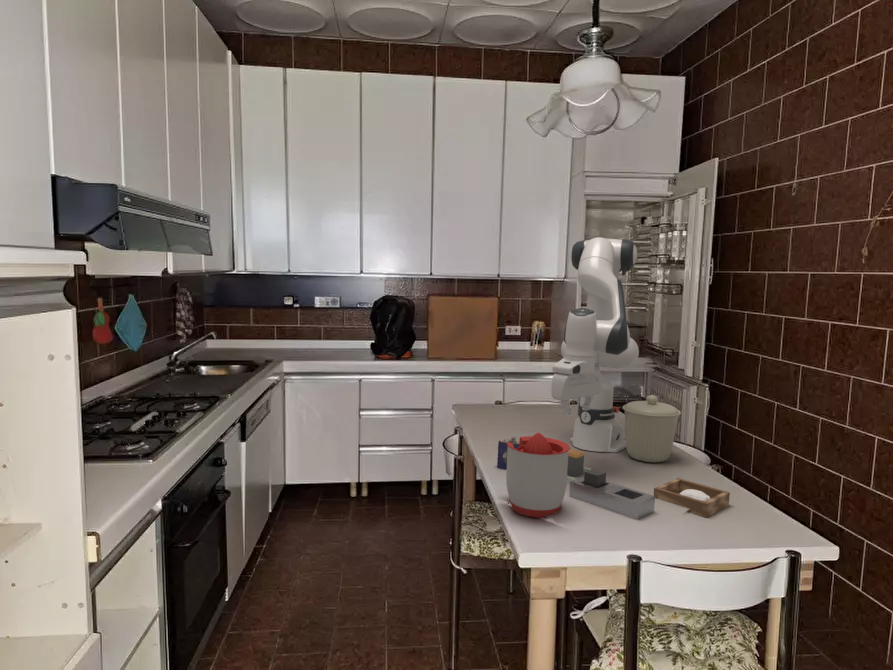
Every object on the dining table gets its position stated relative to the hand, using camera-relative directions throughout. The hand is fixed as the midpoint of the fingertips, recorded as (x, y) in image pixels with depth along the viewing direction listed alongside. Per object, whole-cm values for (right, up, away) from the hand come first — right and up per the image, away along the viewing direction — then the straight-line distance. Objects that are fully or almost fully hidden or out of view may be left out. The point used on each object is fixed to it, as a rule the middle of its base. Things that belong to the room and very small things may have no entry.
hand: (576, 412), depth 182 cm
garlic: (+28, -23, -16) cm, 40 cm away
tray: (0, -19, +2) cm, 20 cm away
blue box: (-18, -19, +6) cm, 27 cm away
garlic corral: (+27, -22, -16) cm, 38 cm away
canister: (+28, -18, +24) cm, 41 cm away
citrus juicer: (-16, -22, -23) cm, 36 cm away
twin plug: (+1, -21, -17) cm, 27 cm away
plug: (0, -19, +2) cm, 19 cm away
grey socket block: (+4, -22, -21) cm, 30 cm away
